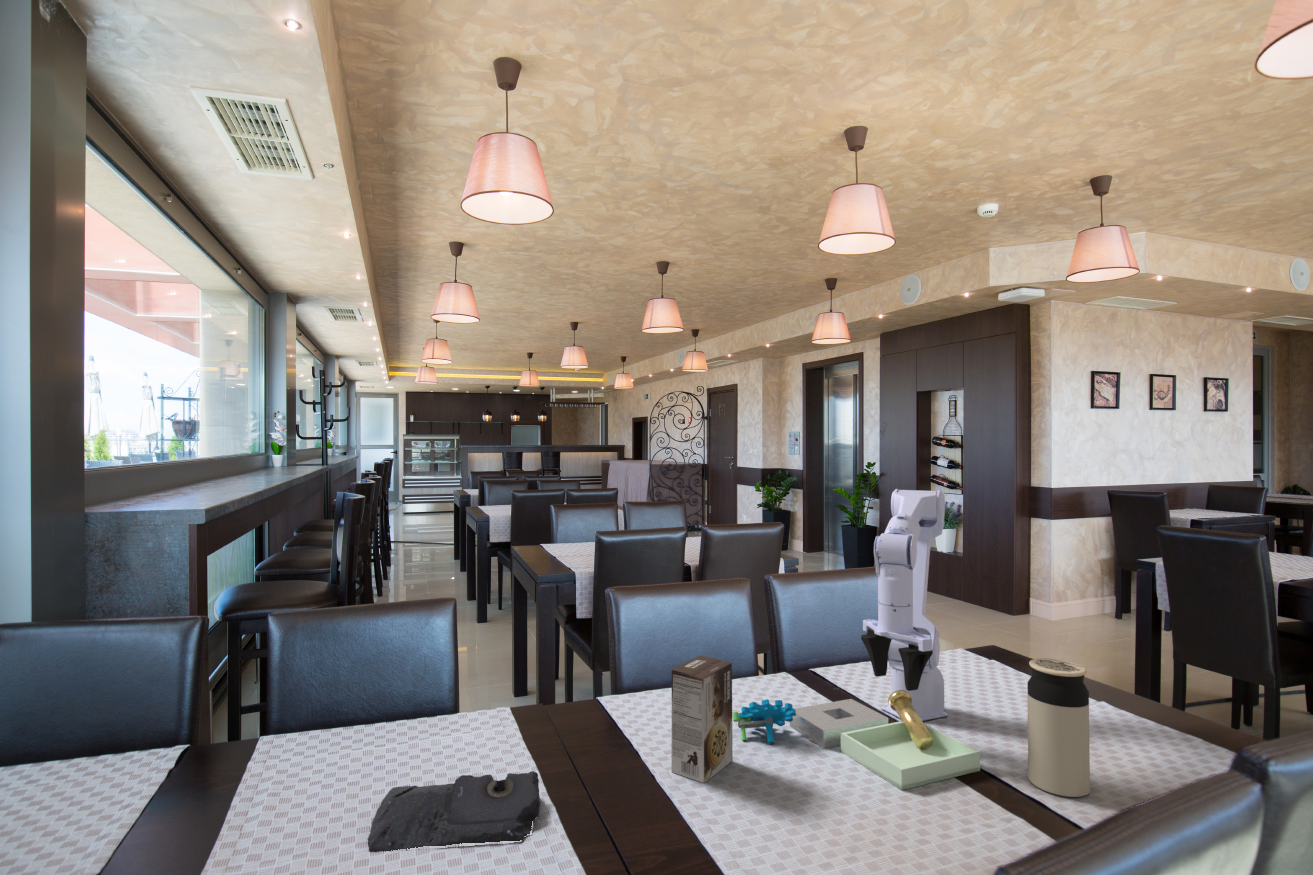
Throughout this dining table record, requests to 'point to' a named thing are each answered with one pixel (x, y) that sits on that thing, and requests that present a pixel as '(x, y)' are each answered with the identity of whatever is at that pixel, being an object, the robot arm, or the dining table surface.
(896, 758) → the parts tray
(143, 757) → the dining table surface
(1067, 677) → the travel mug
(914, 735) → the pin
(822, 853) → the dining table surface
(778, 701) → the gear
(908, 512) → the robot arm
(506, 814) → the dark slate chunk
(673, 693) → the coffee box
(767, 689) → the dining table surface
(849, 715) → the pin bracket
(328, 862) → the dining table surface
